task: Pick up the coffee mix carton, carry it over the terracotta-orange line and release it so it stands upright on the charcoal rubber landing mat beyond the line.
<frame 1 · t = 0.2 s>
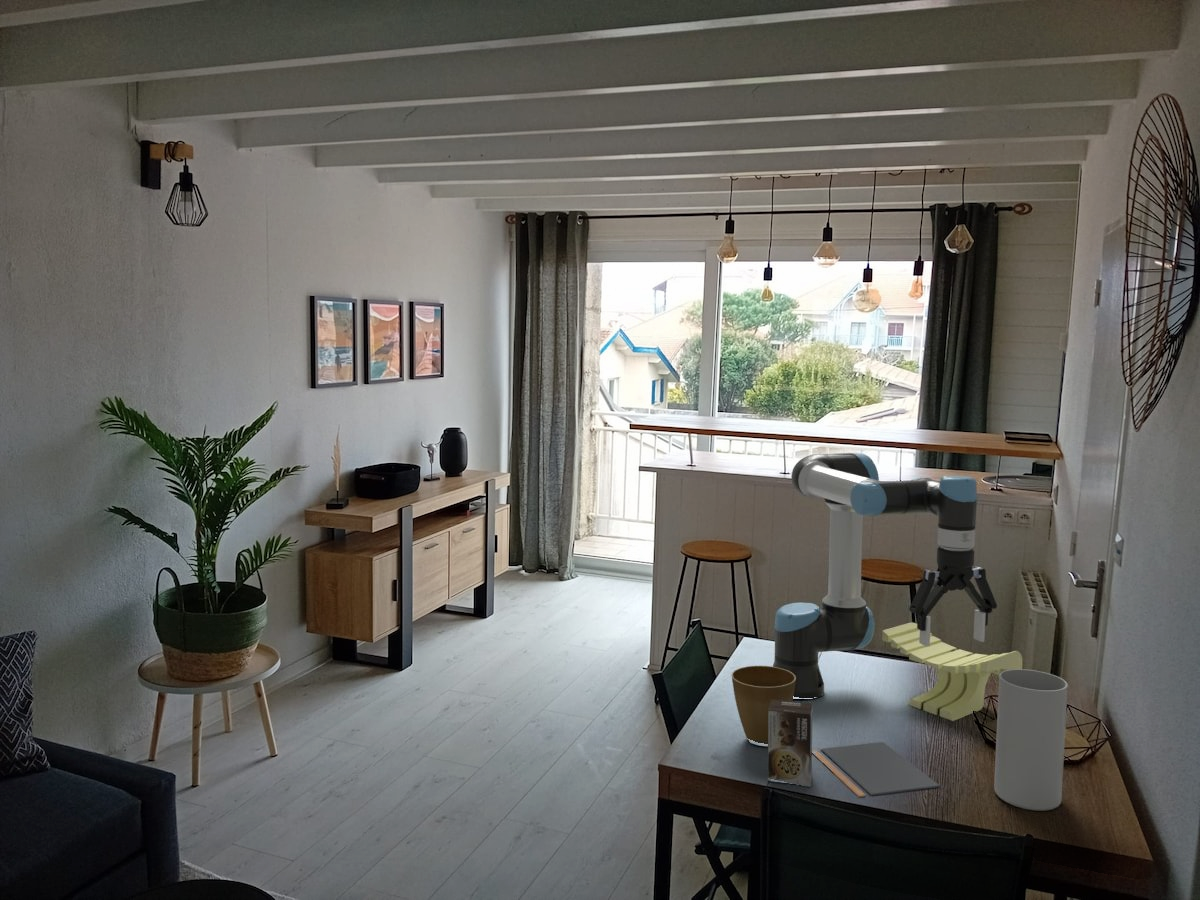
hand: (951, 642, 195), 28 cm above the table, fingers open, 13 cm apart
plant pot: (762, 741, 210), on the table
landing mat: (877, 767, 196), on the table
slatted curved stool: (947, 706, 232), on the table
throw line: (836, 772, 194), on the table
cylinder vase: (1027, 798, 183), on the table
coffee box: (789, 779, 191), on the table
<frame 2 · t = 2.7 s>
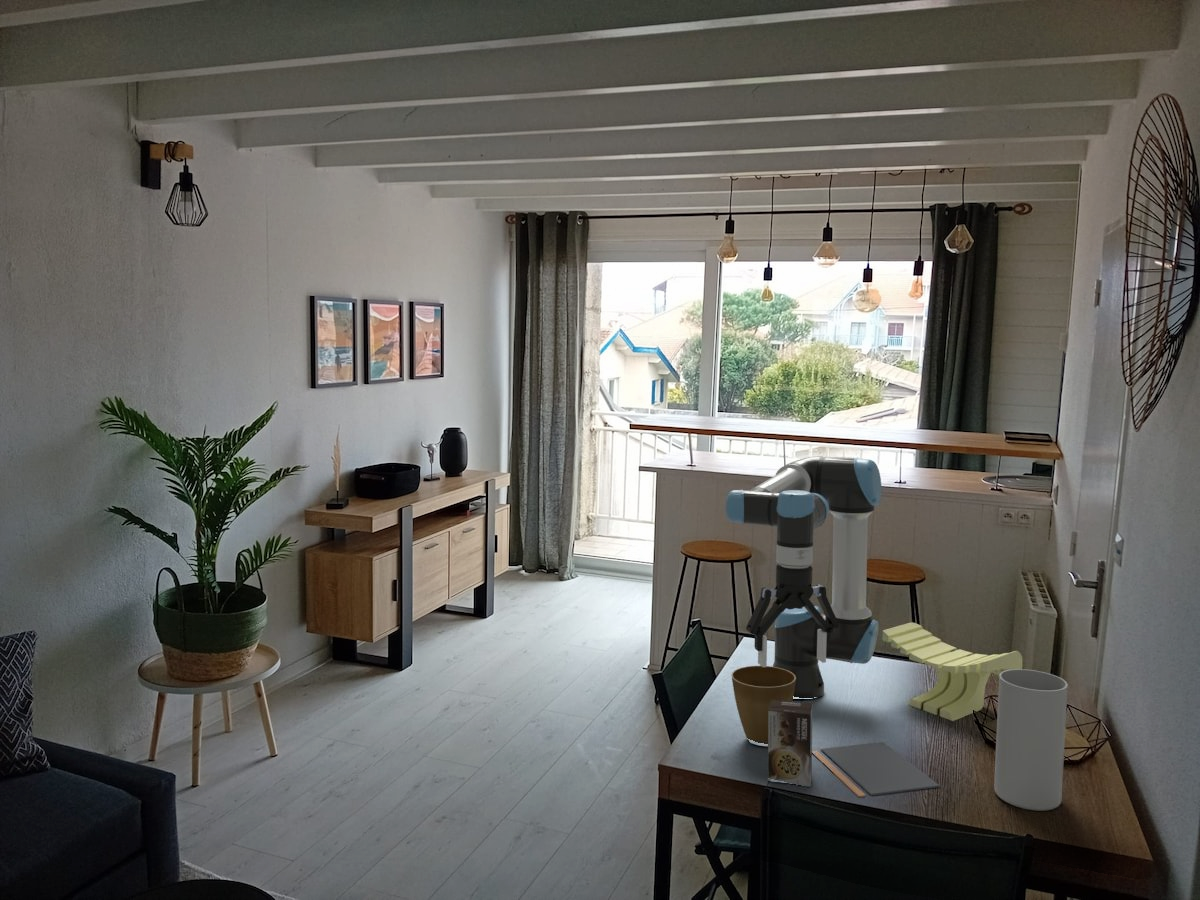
hand: (791, 663, 188), 26 cm above the table, fingers open, 13 cm apart
nothing on the table moved.
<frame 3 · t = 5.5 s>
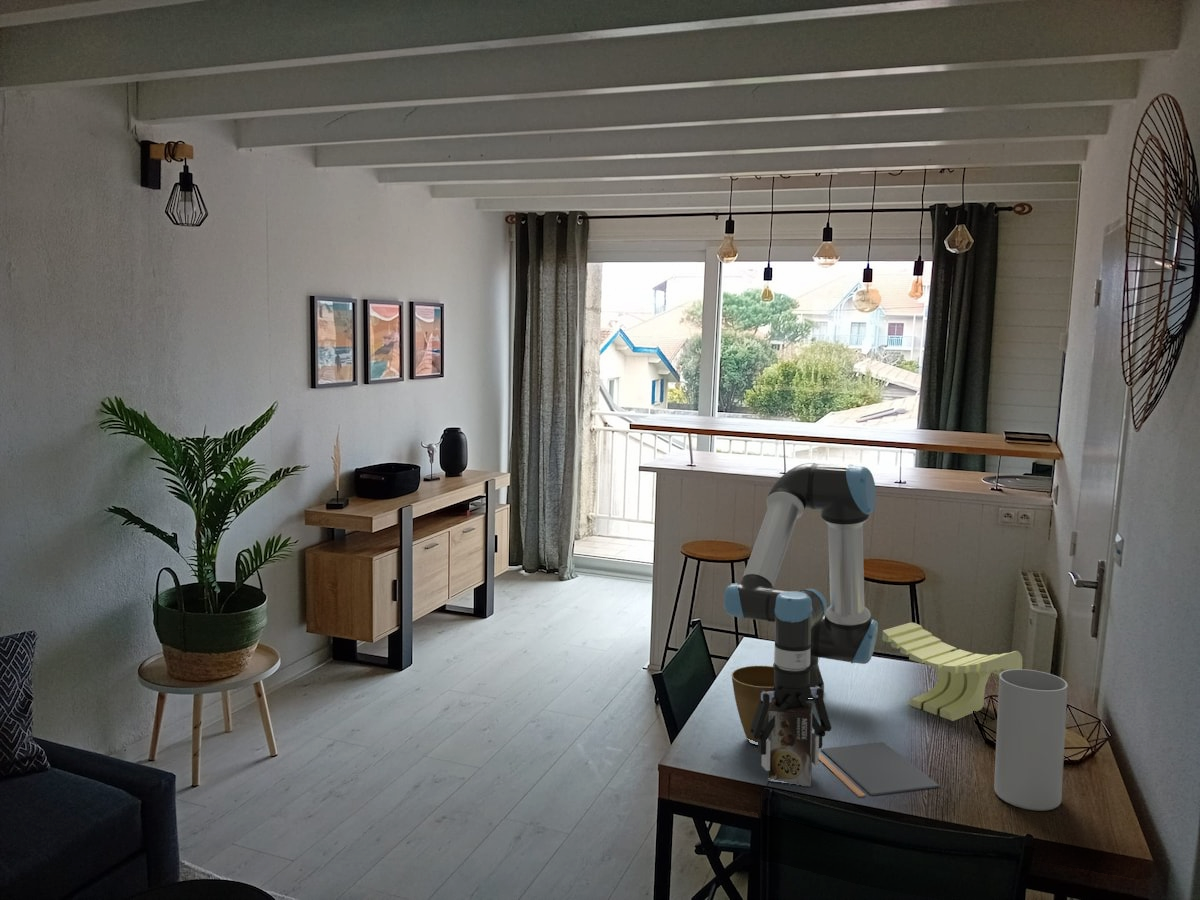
hand: (789, 765, 191), 3 cm above the table, fingers closed on coffee box, 10 cm apart
coffee box: (789, 779, 191), on the table, touching gripper
everything else where it was.
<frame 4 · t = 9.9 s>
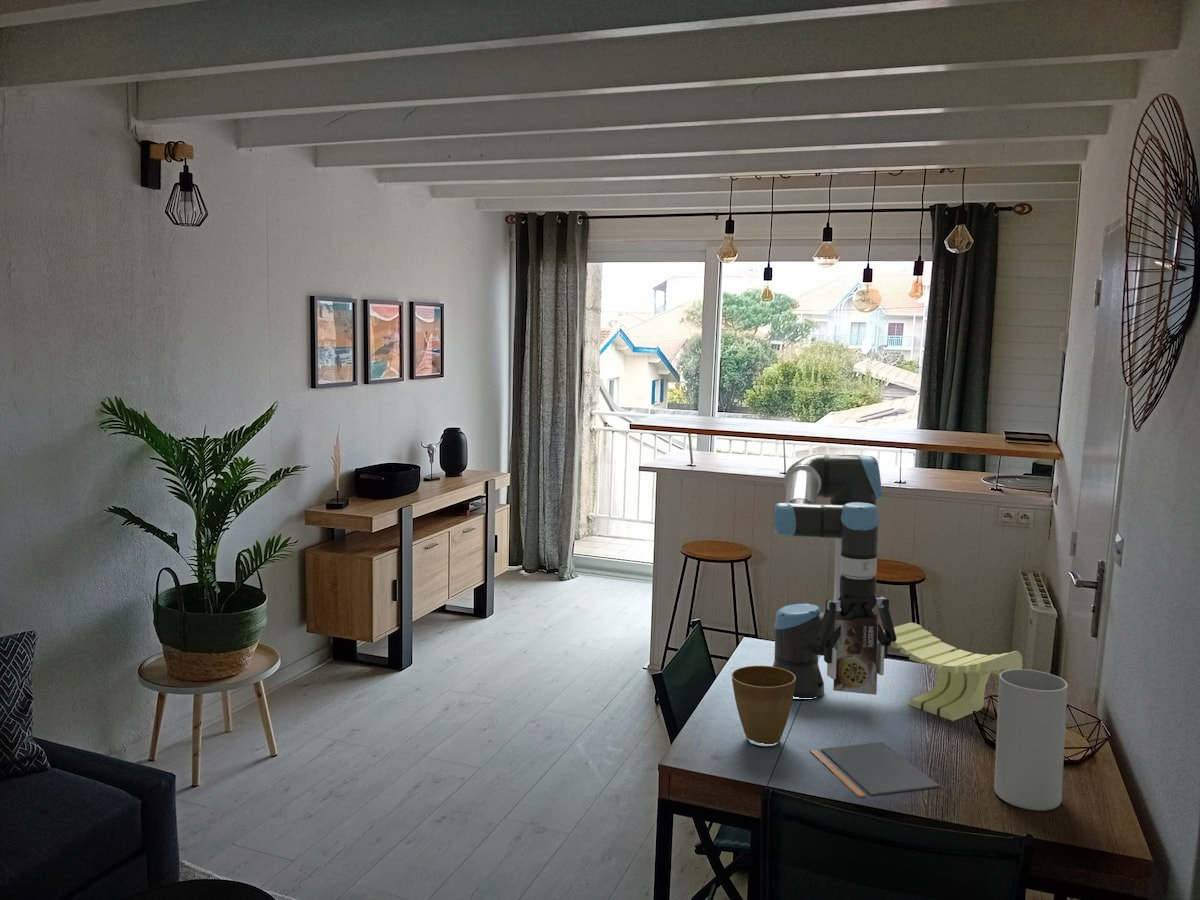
hand: (855, 675, 193), 22 cm above the table, fingers closed on coffee box, 10 cm apart
coffee box: (854, 688, 193), point 19 cm above the table, touching gripper
everything else where it was.
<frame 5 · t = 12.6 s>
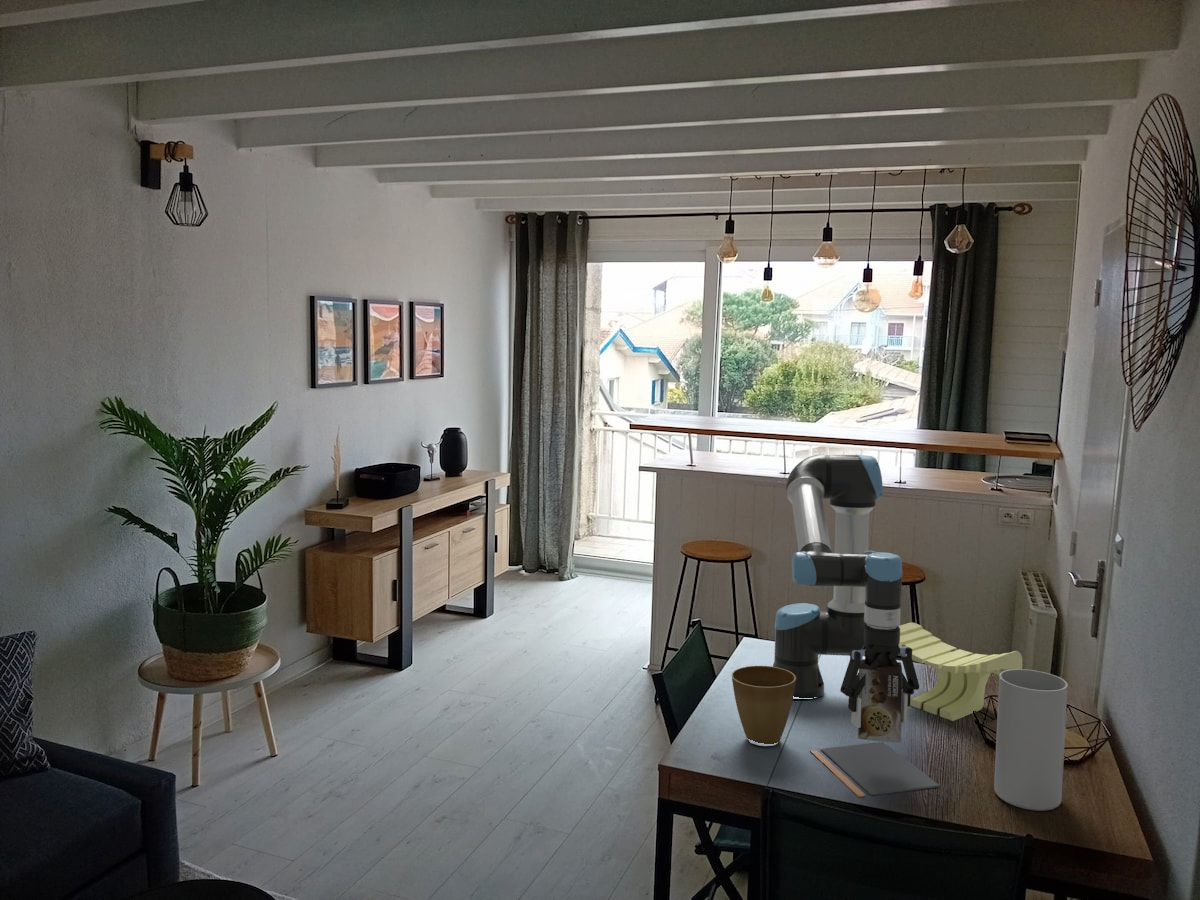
hand: (878, 723, 195), 10 cm above the table, fingers closed on coffee box, 10 cm apart
coffee box: (878, 736, 195), point 7 cm above the table, touching gripper
everything else where it was.
when the fingers open (5 cm above the table, at t = 14.6 s): coffee box drops 2 cm, resting on landing mat.
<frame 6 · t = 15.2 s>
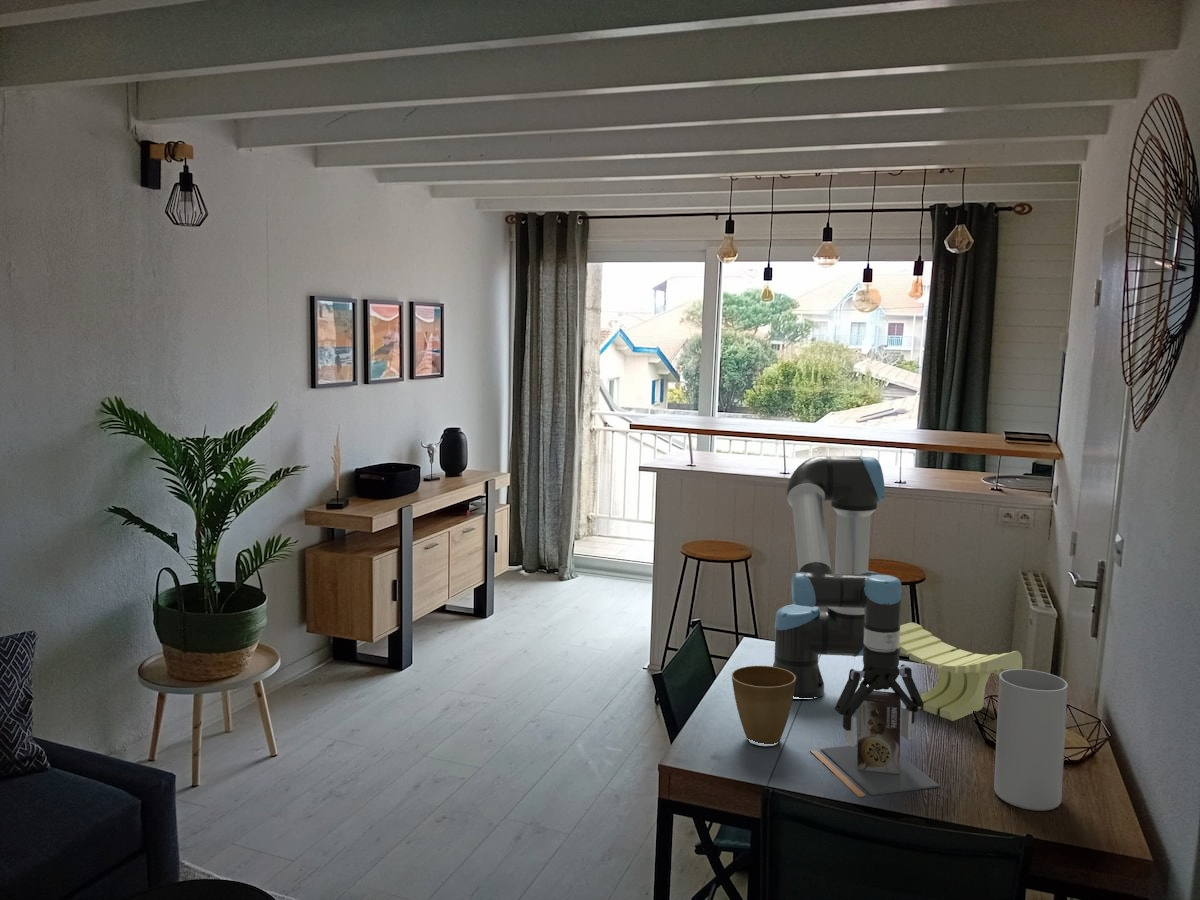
hand: (878, 740, 195), 6 cm above the table, fingers open, 13 cm apart
coffee box: (877, 767, 196), resting on landing mat
everything else where it was.
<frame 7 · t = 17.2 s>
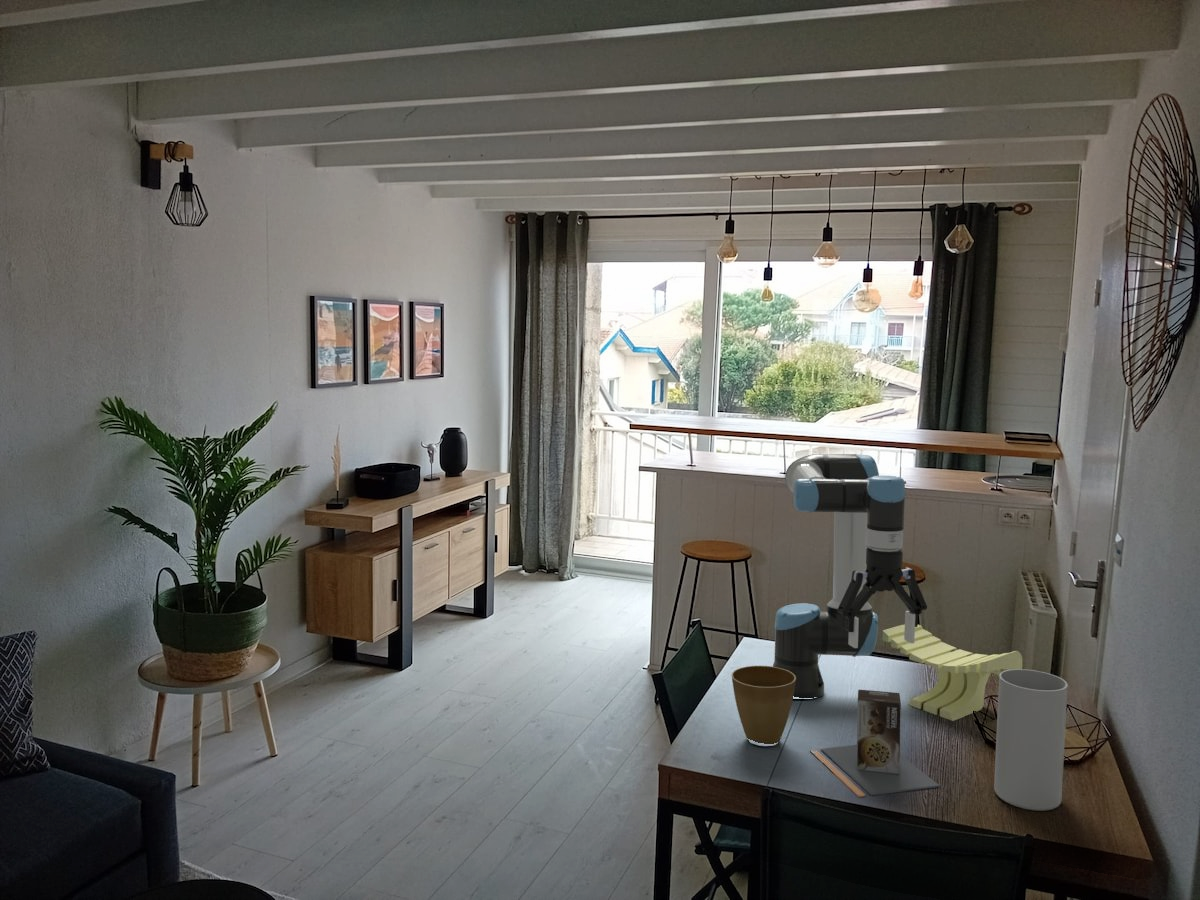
hand: (881, 643, 193), 28 cm above the table, fingers open, 13 cm apart
nothing on the table moved.
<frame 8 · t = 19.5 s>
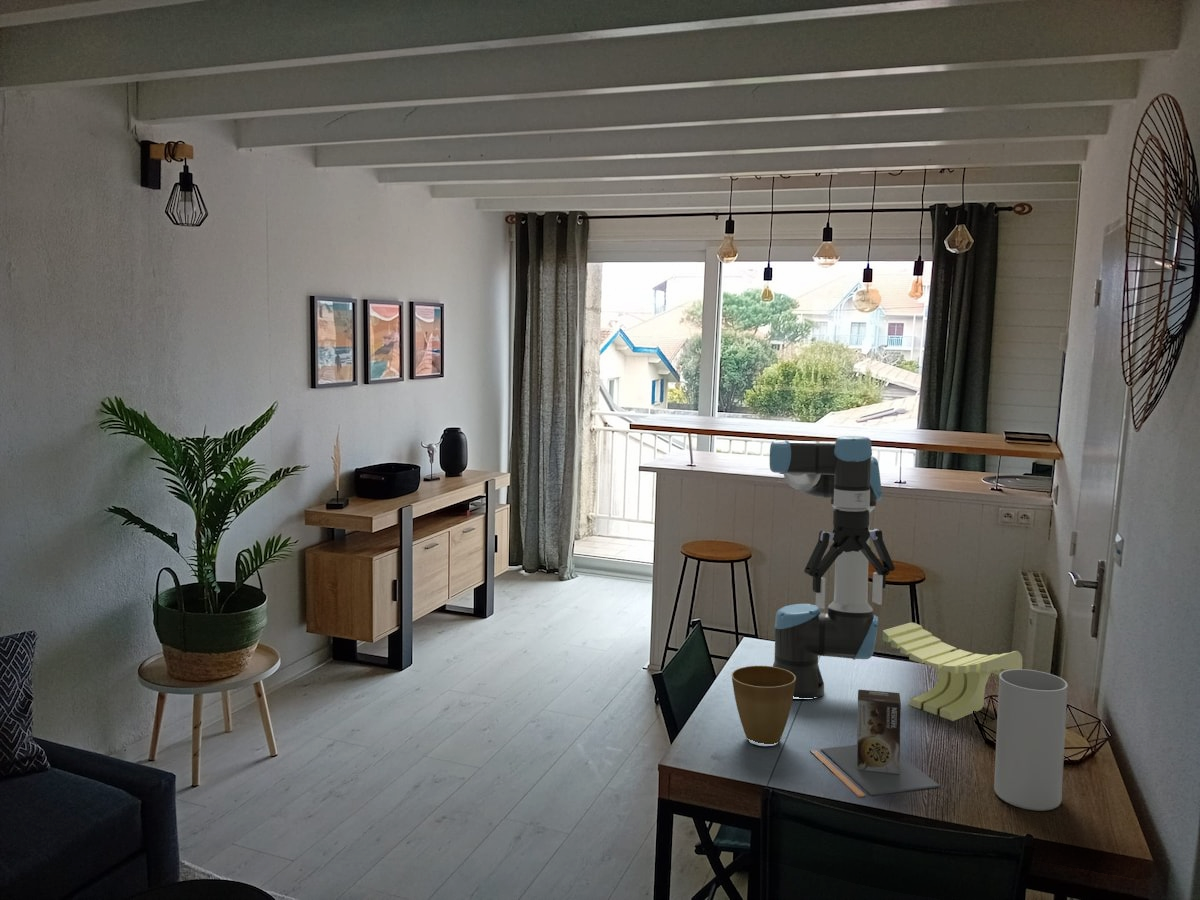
hand: (848, 605, 193), 37 cm above the table, fingers open, 13 cm apart
nothing on the table moved.
at the end: coffee box inside the target area (0.0 cm from its centre), resting on landing mat; coffee box tilted 0°; the gripper is holding nothing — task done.
